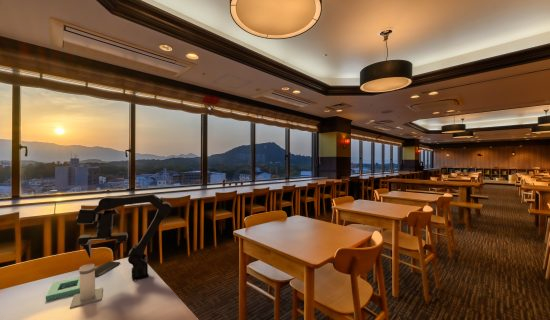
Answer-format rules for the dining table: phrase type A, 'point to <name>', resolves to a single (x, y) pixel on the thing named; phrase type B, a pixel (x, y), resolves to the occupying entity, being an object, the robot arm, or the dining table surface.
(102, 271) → the phone
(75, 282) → the green square frame
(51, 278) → the dining table surface
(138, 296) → the dining table surface
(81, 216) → the robot arm
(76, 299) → the beige square plate
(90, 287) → the white capped cylinder
